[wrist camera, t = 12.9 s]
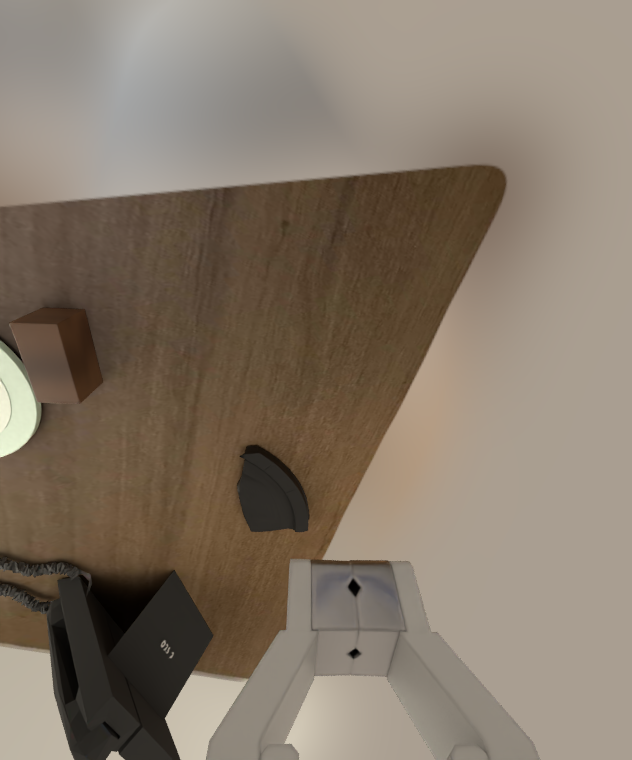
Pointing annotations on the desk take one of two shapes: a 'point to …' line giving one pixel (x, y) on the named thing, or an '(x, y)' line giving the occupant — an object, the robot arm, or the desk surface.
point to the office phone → (116, 664)
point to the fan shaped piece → (271, 494)
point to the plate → (16, 403)
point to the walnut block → (58, 354)
